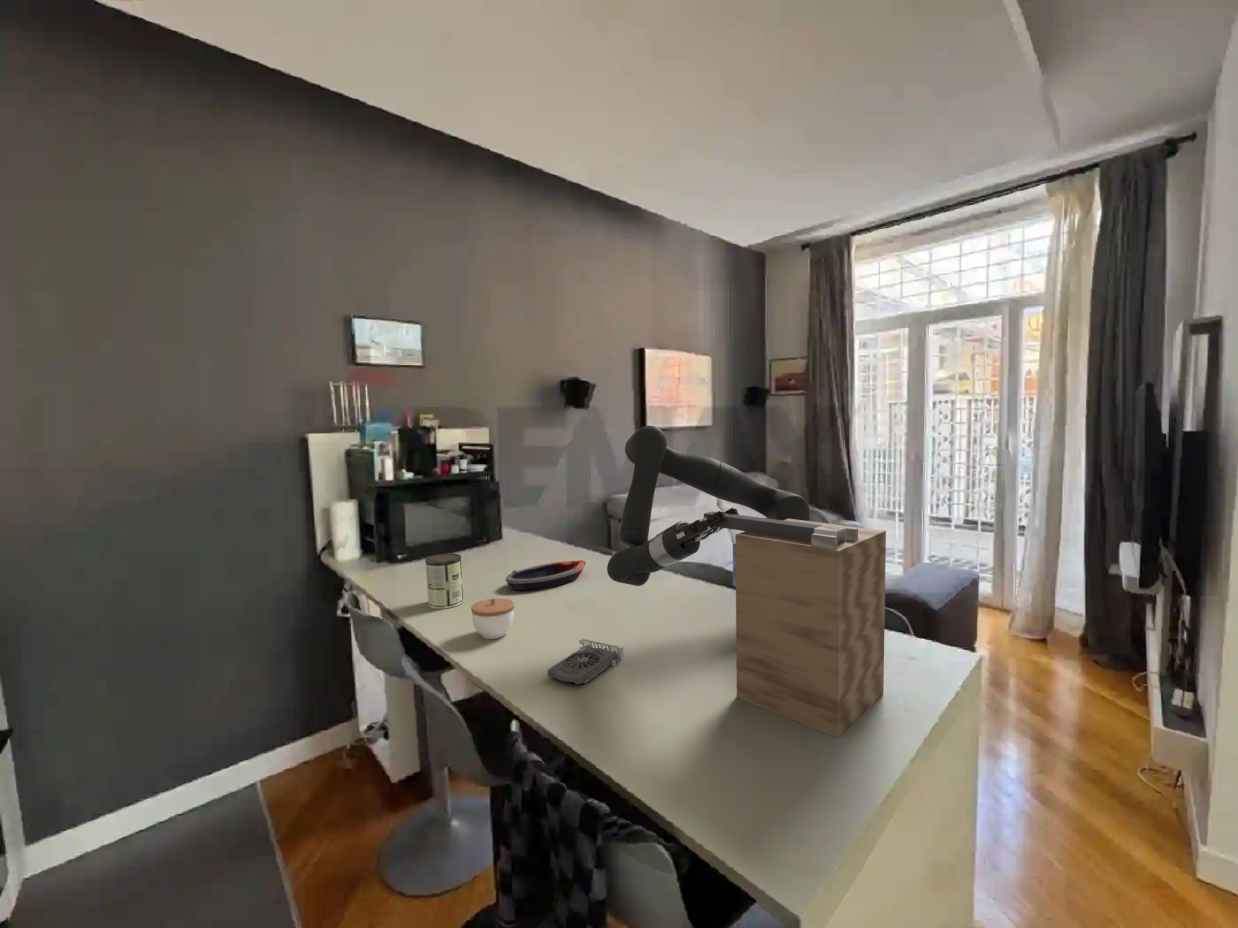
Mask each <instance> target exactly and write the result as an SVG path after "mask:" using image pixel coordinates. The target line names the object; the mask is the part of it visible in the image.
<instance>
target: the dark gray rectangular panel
mask: <svg viewBox="0 0 1238 928" xmlns="http://www.w3.org/2000/svg"><path fill="white" fill-rule="evenodd" d="M716 512H717V511H709V512H705V513H704V512H703V518H706V517H709V516H711V515H713V514H714V513H716ZM724 514H725V516H726V521H724V522H722V523H720V524H718V525H717V526H715V527H720V528H723V529H726V530H732V531H733V530H735V531H740V532H745V531H746V532H753V533H760V534H766V535H773V536H779V537H786V538H793V539H799V540H806V541H811V534H814V533H817V534H824V535H831V536H838V545H839V544H841V543H844V542H845V528H839V527H831V526H822V525H814V524H806V523H798V522H790V521H783V520H775V519H769V518H767V517H758V516H750V515H741V514H739V515H736V514H728V513H724Z"/></svg>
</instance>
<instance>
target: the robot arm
mask: <svg viewBox="0 0 1238 928" xmlns="http://www.w3.org/2000/svg"><path fill="white" fill-rule="evenodd" d="M624 453H625V456H626V457H627V459H628V461H629V462H631V463H632V464H633V466H634V467H633V475H632V479H631V483H630V487H629V489H628V490H629V491H628V493H627V496H626V500H625V503H624V507H623V511H622V515H621V516H622V518H621V524H620V530H619V540H620V541H621V542H622V543H623V544H624V545H626V546H628V548H624V549H621V550H619V551H617V552H615V553H614V554H613V555H612V556H611V557H610V558H609V561H608V562H607V566H606V572H607V575H608V577H609V579H611V580H612V581H614V582H617V583H621V584H625V585H629V586H634V587H641V586H643V585H645V584H646V583H647V582H648V580H649V578H650V576H651V573H656V572H658V571H661V570H662V569H664V568H666V567H668V566H671V565H675V564H676V563H678V562H680V561H682V560H684V559H686V558H688V557H690V556H693V555H694V554H696V553H697V552H698V551H699V550H700V547H701V541H705V540H707V539H708V538H710V536H712V535H714V534H717V533H719V532H720V531H722V530H723V529H724V528H720V527H715V526H717V525H718V524H720V523H722V522H724V521H726V516H725V514H724V513H728V514H736V515H740V514H739V512H738V510H737V508H736V507H731V508H729V509H727V510H725V511H723V510H722V509H721V510H719V511H715V512H716V513H714V514H713V515H711V516H709V517H706V518H704V517H703V518H701V519H697V520H695V521H693V522H690V523H689V522H687V521H683V520H681V521H678V522H676V523H674V524H672V525H671V526H669V527H667V528H666V529H664V530H662V531H660V532H659V533H657V534H656V535H655V536H654V537H652V538H651V539H649V533H650V527H651V520H652V519H651V518H652V517H651V516H652V510H653V504H654V503H653V502H654V499H655V491H656V486H657V482H658V478H659V474H662V475H665V476H667V477H671V478H673V479H674V480H677V481H679V482H681V483H683V484H685V485H687V486H690V487H692V488H695V489H696V490H699V491H700V492H703V493H705V494H707V495H710V496H712V497H715V498H716V499H719V500H721V501H726V502H729V503H732V504H736V505H741V506H745V507H747V508H749V509H751V510H753V511H755V512H757V513H758V514H761V515H763V517H764V518H767V519H775V520H786V519H795V520H803V521H810V519H811V518H810V517H811V513H810V512H811V511H810V507H809V504H808V502H807V500H806V498H804V497H803V496H802V495H799V494H796V493H794V492H791V491H787V490H783V489H778V488H775V487H773V486H772V487H771V486H769V485H767V484H766V485H765V484H763V483H760V482H759V481H757V480H754V479H753V478H751V477H750V476H748V474H746V473H744V472H743V471H741V470H739V469H737V468H736V467H734V466H732V465H729V464H728V463H725V462H723V461H721V460H719V459H715V458H713V457H710V456H704V455H699V454H690V453H686V452H681V451H679V450H675V449H673V448H671V447H668V442H667V436H666V435H665V432H663V431H662V429H661V428H659V427H657V426H655V425H645V426H642V427H640V428H638V429H637V430H636V431H635V432H634V433H633V434H632V435H631V436H629V438H628V440H627V441H626V443H625V445H624Z"/></svg>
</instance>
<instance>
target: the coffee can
mask: <svg viewBox="0 0 1238 928" xmlns="http://www.w3.org/2000/svg"><path fill="white" fill-rule="evenodd" d="M424 561H425V570H426V571H425V572H426V573H425V574H426V587H427V599H428V602H427V605H428V608H430V609H433V610H444V609H446V610H447V609H451V608H455V607H458V606H460V605H462V604H463V602H464V591H463V590H464V589H463V576H462V575H463V572H462V555H461V554H458V553H449V552H448V553H440V554H434V555H431V556H428V557H426V558H425V559H424Z"/></svg>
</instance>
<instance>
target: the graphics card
mask: <svg viewBox="0 0 1238 928" xmlns="http://www.w3.org/2000/svg"><path fill="white" fill-rule="evenodd" d="M578 643H579V645H581V646H579V648H578V649H577V651H575V652H574V653H572V654H570V655H569V656H567V657H565V658H564V659H562V660H561V661H559V662H558V663H556V664H555V665H553V666H552V667H550V668H548V669H547V670H546V671H547V677H549V678H551V677H553V678H555V679H557V680H559V681H561V682H567V683H570V684H571V685H574V686H575V685H579V684H586V683H587V682H590V681H591V680H592V679H593V678H595V677H596V676H597V675H599V674H601V673H602V672H603V671H604V675H606V674H607V673H609V672H610V671H612V670H613V669H614V668H616V667H617V666H618V665H620V664H621V663H622V662H623V661H624V660H625V657H624V655H625V654H624V652H625V651H624V646H621V647H619V646H618V645H613V644H608V643H604V642H601V641H600V642H599V641H594V640H591V639H585V638H581V639H579V640H578ZM603 647H604V648H603Z"/></svg>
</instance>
